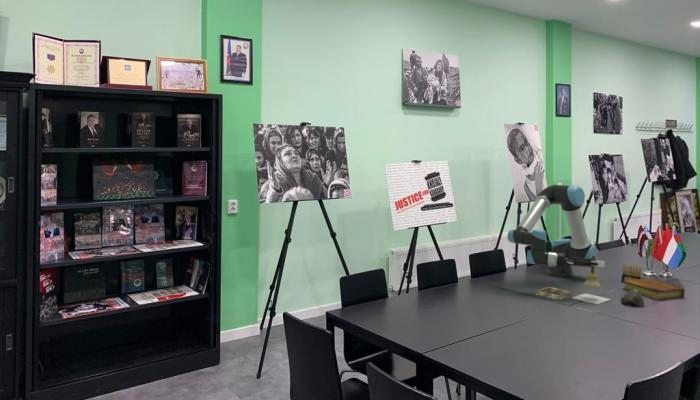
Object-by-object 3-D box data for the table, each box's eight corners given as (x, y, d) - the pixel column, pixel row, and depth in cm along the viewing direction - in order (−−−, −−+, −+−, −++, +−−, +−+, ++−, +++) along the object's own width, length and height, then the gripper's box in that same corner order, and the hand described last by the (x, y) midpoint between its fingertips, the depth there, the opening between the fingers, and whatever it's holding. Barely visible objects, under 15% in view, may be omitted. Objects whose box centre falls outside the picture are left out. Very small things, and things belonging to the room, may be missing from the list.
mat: (572, 298, 273) (572, 297, 273) (585, 294, 281) (585, 293, 281) (598, 304, 262) (598, 303, 262) (610, 300, 270) (610, 299, 270)
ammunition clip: (641, 285, 303) (642, 265, 301) (640, 285, 301) (641, 265, 300) (622, 281, 310) (623, 262, 309) (621, 282, 309) (622, 263, 308)
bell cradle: (535, 295, 279) (535, 290, 279) (548, 291, 287) (549, 286, 287) (558, 300, 268) (558, 296, 268) (571, 296, 277) (571, 291, 276)
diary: (684, 298, 276) (684, 288, 276) (657, 301, 271) (658, 291, 270) (647, 287, 298) (648, 278, 298) (622, 290, 292) (623, 280, 292)
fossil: (614, 300, 269) (624, 283, 268) (629, 307, 269) (638, 291, 269) (626, 305, 258) (636, 288, 257) (642, 313, 258) (651, 296, 258)
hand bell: (582, 282, 276) (583, 253, 274) (599, 283, 273) (600, 254, 272) (584, 286, 268) (586, 256, 266) (601, 287, 265) (603, 257, 264)
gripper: (557, 263, 285) (604, 268, 274) (555, 269, 271) (604, 274, 260) (558, 250, 284) (605, 254, 274) (555, 255, 270) (605, 259, 260)
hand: (604, 264), depth 267 cm, fingers closed on hand bell, 3 cm apart
